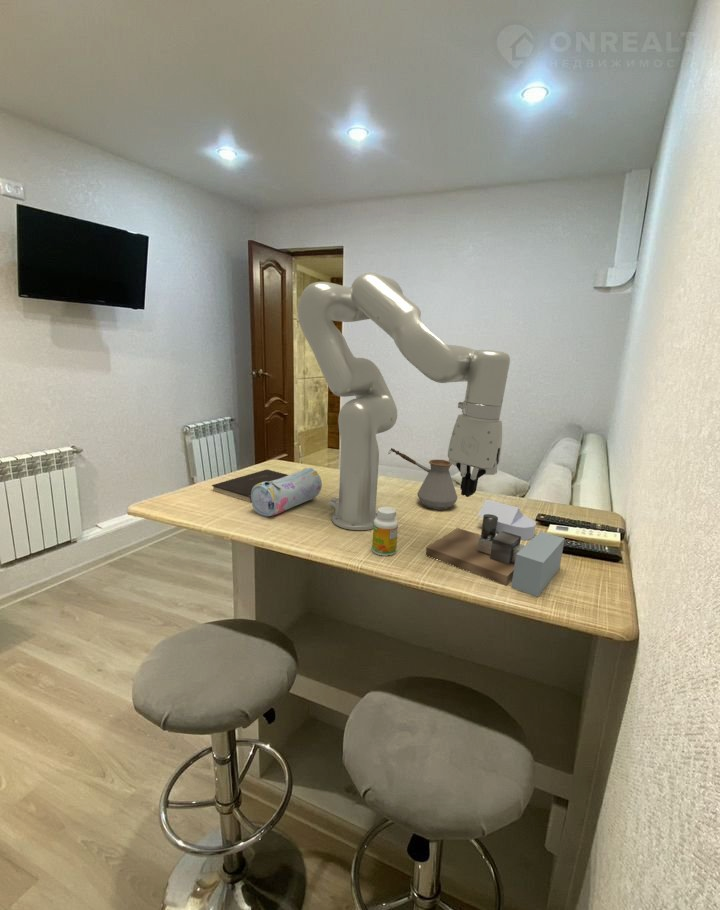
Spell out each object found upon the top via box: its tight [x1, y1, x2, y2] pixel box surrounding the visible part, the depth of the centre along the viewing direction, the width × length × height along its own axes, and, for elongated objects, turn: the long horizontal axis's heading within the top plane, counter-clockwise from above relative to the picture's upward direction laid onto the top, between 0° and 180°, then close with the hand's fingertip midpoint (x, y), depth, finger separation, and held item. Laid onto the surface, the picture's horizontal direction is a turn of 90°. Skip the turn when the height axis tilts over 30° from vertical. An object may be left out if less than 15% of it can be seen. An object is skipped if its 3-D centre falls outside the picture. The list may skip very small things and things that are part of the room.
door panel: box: [425, 527, 522, 586], centre depth 97 cm, size 18×15×6 cm
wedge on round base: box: [477, 498, 537, 541], centre depth 113 cm, size 9×7×13 cm
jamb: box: [510, 531, 566, 598], centre depth 90 cm, size 5×15×7 cm, turn 142°
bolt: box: [477, 514, 525, 563], centre depth 93 cm, size 12×3×8 cm, turn 52°
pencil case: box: [251, 467, 323, 517], centre depth 121 cm, size 21×9×10 cm, turn 146°
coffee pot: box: [387, 447, 458, 511], centre depth 130 cm, size 21×12×15 cm, turn 67°
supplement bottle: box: [371, 506, 399, 557], centre depth 97 cm, size 5×5×10 cm
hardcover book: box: [211, 468, 289, 504], centre depth 137 cm, size 16×23×2 cm
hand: (467, 494), depth 97 cm, fingers closed
